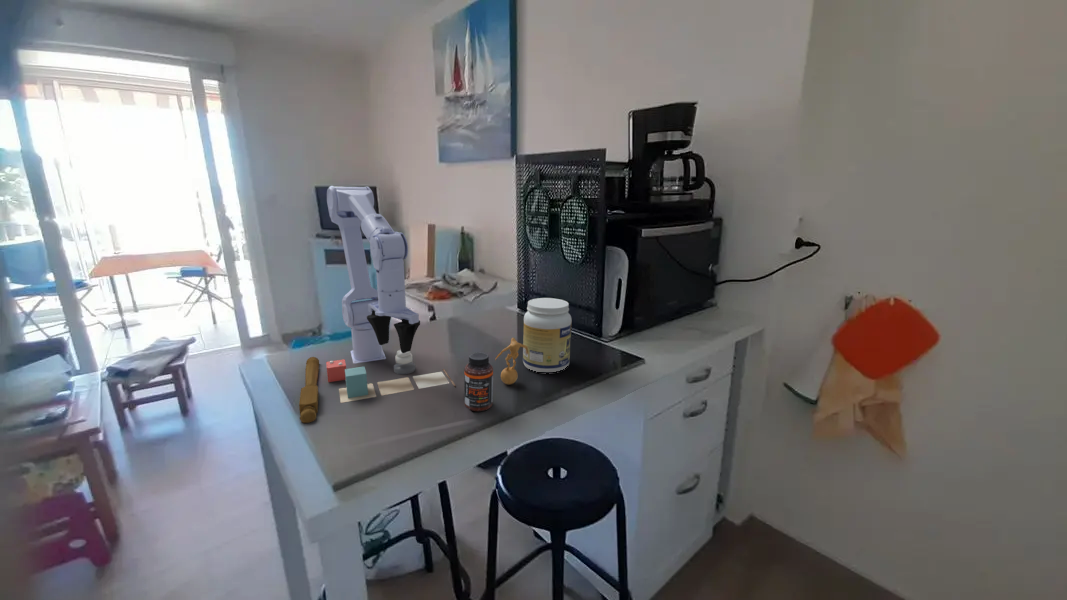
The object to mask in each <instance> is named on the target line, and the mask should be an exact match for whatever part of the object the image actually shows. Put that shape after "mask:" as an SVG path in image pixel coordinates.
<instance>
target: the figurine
mask: <svg viewBox="0 0 1067 600" xmlns="http://www.w3.org/2000/svg"><path fill="white" fill-rule="evenodd" d="M520 348H522V349H523V348H526V354H528V347H527V346H526V345H523V343H520V342H518V341H517V340H516V338H515V337H511V340H510V344H509V345H508V346H507V347H504V348H503V349H502V350H501V351H500V352H499V353H498V354H497V356H496V357H495V361H496V360H497V358H499V357H500V356H501V355H503V353H504V352H507V351H508V350H509V351H510V353H507V356H506V357H505V362H506V365H507V367H504V369H502V370H501V372H500V379H501V382H503V384H505V385H513V384H514V383H516V381H517V379H518V375H519V374H518V371H517V370H516V369H515V368H516V364H517V361H516V359H517V358H518V357H519V350H520ZM511 359H512V363H513V365H512V366H510V365H511V363H510V360H511Z"/></svg>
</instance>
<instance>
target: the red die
mask: <svg viewBox="0 0 1067 600" xmlns="http://www.w3.org/2000/svg"><path fill="white" fill-rule="evenodd" d="M345 369H347V364H346V360H345V359H338V360H337V359H336V360H330V361H326V374H327V382H328V383H332V382H340V381H346V378H345Z"/></svg>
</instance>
